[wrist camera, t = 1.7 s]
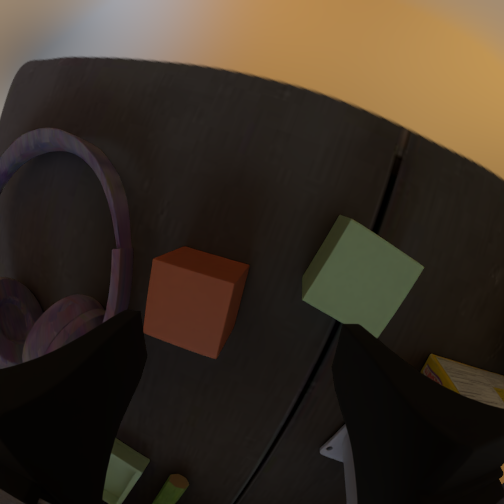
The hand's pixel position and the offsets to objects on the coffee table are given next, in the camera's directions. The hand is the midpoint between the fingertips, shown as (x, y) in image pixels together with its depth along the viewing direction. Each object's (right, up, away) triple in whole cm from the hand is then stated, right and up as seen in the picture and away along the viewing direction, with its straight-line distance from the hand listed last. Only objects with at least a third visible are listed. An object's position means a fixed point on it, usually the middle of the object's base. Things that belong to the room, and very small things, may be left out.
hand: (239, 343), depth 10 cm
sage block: (+7, +2, +8) cm, 10 cm away
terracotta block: (-2, +1, +9) cm, 10 cm away
